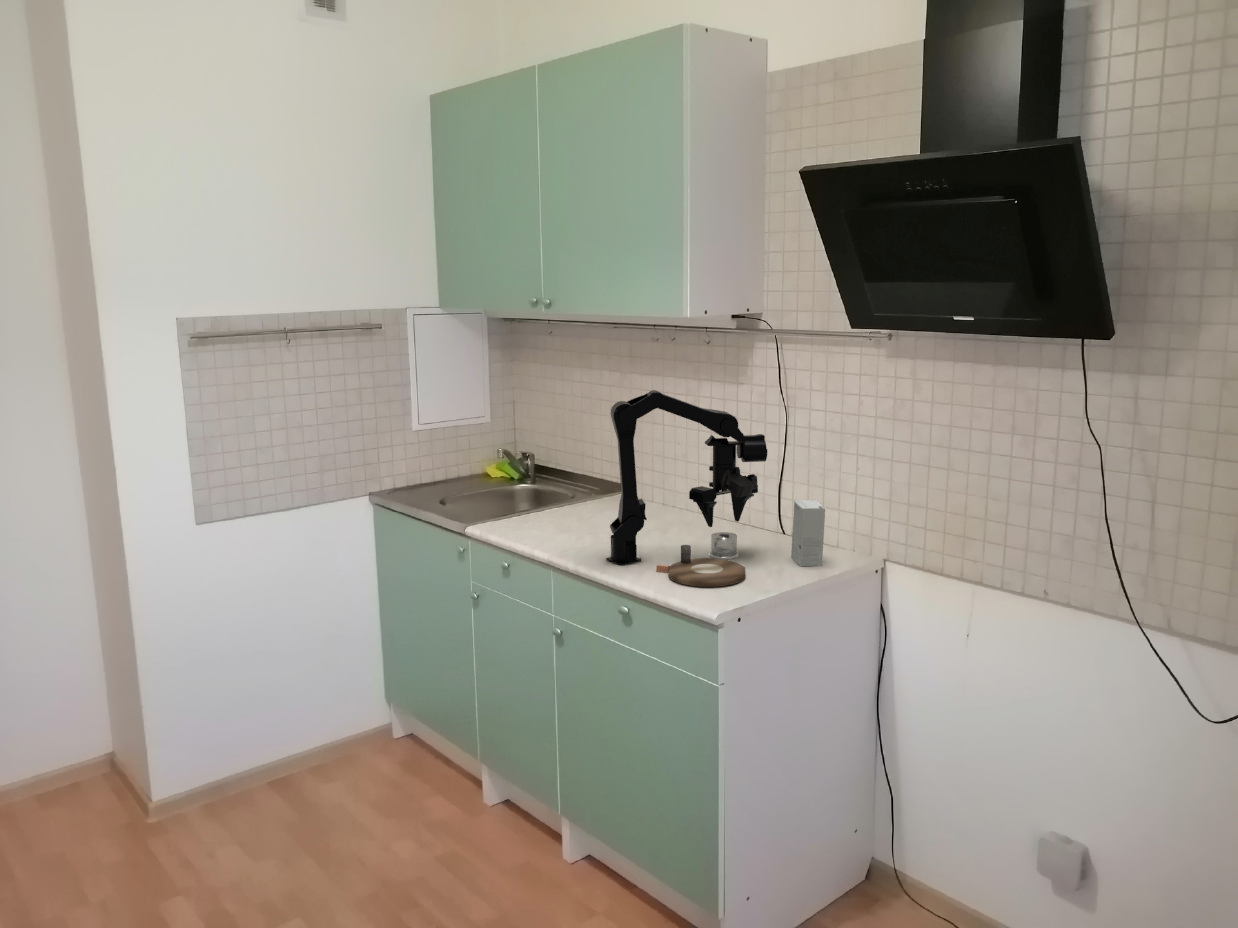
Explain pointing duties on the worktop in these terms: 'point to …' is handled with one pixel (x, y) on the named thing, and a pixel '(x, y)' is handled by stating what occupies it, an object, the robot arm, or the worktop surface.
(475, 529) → the worktop surface
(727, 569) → the turntable
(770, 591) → the worktop surface
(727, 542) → the cap
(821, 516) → the skincare box
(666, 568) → the pointer
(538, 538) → the worktop surface
